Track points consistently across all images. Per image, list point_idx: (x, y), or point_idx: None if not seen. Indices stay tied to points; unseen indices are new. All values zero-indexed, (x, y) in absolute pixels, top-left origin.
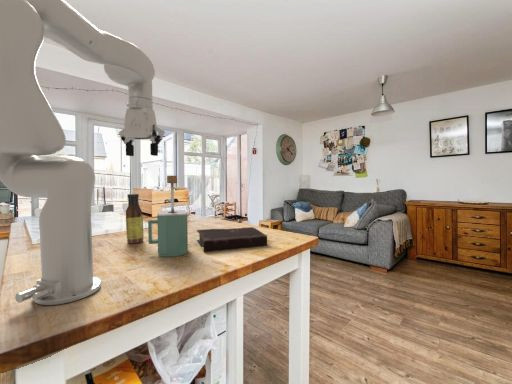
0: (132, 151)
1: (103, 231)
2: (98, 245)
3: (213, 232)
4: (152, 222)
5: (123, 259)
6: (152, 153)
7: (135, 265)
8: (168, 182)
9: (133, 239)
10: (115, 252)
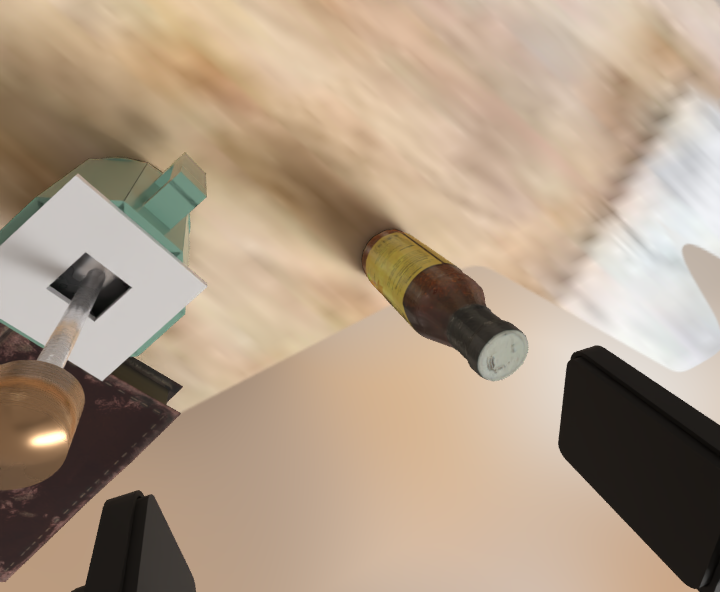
0: (605, 477)
1: (601, 300)
2: (479, 163)
3: (83, 429)
4: (164, 184)
5: (239, 63)
6: (105, 525)
7: (120, 18)
8: (19, 363)
9: (380, 240)
10: (347, 122)
